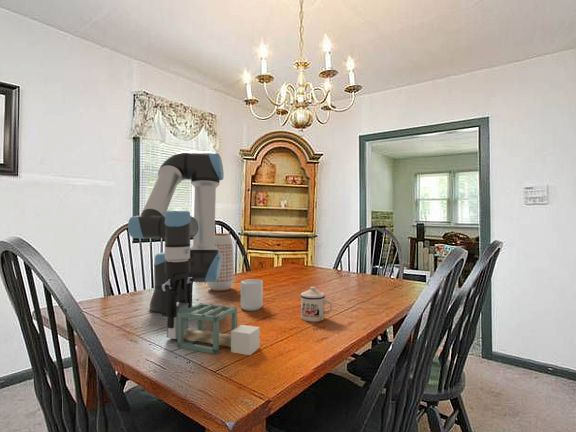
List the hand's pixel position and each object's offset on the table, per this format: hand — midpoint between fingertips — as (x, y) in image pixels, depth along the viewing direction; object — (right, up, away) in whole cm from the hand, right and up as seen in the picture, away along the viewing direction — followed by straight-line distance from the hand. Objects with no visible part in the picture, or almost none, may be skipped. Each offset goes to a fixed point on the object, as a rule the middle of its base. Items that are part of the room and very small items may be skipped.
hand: (177, 335), depth 110 cm
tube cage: (+10, -1, -4) cm, 11 cm away
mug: (+20, -1, +37) cm, 42 cm away
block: (+22, -1, -8) cm, 24 cm away
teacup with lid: (+45, -1, +21) cm, 50 cm away
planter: (0, 0, +70) cm, 70 cm away
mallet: (+8, 0, -3) cm, 9 cm away
